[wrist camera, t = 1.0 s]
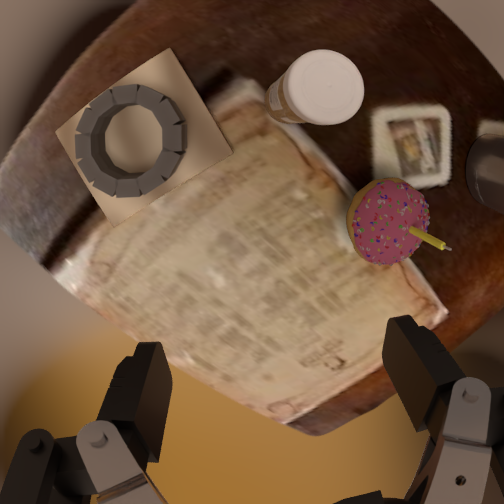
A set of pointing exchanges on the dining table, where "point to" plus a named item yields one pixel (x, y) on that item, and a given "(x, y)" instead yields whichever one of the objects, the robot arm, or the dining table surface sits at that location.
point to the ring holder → (143, 137)
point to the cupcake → (389, 221)
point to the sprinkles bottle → (316, 90)
